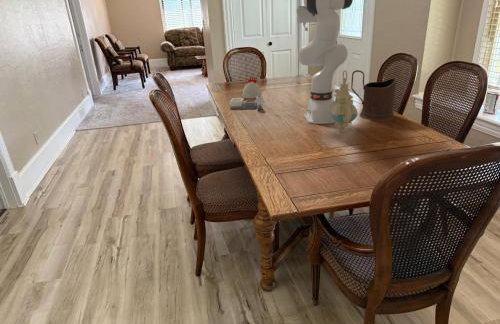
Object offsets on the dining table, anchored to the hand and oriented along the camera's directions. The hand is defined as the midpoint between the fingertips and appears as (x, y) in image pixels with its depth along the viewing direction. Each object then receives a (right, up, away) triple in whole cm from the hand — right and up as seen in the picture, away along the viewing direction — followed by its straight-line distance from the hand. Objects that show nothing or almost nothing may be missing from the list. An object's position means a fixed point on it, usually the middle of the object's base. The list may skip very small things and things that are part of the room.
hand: (314, 30), depth 205 cm
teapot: (+7, -64, -36) cm, 74 cm away
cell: (-32, -45, +11) cm, 57 cm away
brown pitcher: (+30, -53, -13) cm, 62 cm away
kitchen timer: (-37, -34, +38) cm, 63 cm away
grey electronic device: (-42, -43, +18) cm, 63 cm away
